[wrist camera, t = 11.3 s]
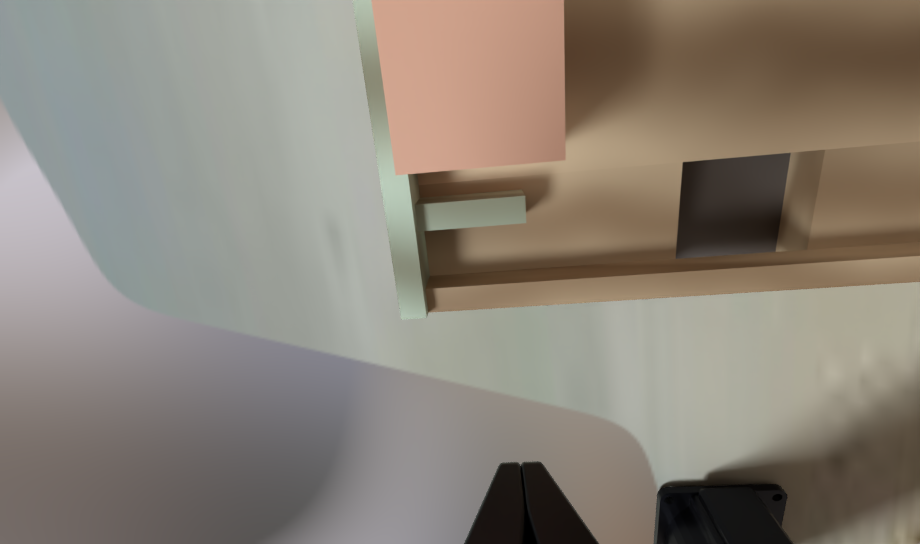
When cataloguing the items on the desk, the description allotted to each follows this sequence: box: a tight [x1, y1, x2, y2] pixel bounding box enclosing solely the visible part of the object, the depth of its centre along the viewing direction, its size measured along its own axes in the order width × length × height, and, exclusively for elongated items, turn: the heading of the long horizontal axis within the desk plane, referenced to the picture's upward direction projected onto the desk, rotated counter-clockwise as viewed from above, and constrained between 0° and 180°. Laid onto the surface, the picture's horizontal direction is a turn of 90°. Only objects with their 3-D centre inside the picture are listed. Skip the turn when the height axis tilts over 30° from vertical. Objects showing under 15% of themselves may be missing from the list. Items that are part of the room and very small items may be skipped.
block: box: [371, 0, 566, 175], centre depth 14 cm, size 5×5×4 cm
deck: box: [352, 0, 920, 320], centre depth 15 cm, size 16×22×4 cm
